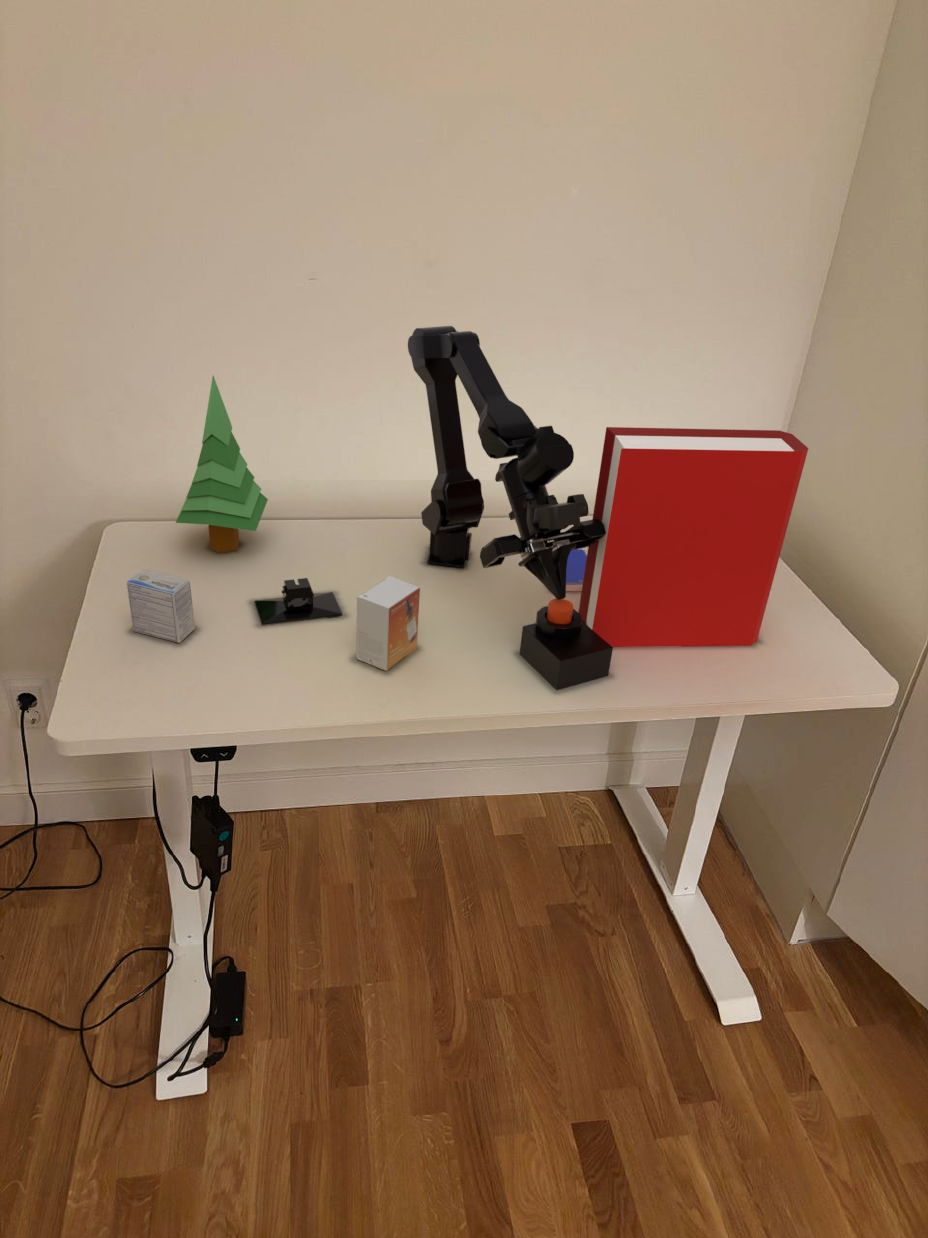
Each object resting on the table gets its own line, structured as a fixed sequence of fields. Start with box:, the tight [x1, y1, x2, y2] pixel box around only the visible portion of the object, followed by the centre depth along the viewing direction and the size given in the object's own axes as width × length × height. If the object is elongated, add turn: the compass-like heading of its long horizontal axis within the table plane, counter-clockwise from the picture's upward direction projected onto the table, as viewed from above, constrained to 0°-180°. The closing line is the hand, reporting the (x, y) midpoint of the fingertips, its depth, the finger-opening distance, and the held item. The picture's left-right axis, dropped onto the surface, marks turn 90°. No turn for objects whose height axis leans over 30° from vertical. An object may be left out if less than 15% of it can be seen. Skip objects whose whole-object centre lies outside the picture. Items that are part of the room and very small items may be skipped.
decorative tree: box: [175, 375, 269, 554], centre depth 158 cm, size 14×16×30 cm
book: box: [577, 426, 809, 648], centre depth 143 cm, size 27×8×32 cm, turn 97°
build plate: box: [253, 577, 343, 626], centre depth 149 cm, size 12×7×5 cm, turn 109°
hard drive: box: [566, 548, 587, 592], centre depth 166 cm, size 2×8×12 cm
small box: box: [355, 575, 421, 672], centre depth 138 cm, size 8×6×10 cm
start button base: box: [519, 605, 614, 691], centre depth 140 cm, size 11×9×7 cm
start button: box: [547, 598, 575, 624], centre depth 139 cm, size 4×4×2 cm
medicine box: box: [126, 568, 196, 644], centre depth 140 cm, size 8×4×9 cm, turn 71°
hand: (561, 598), depth 138 cm, fingers closed
